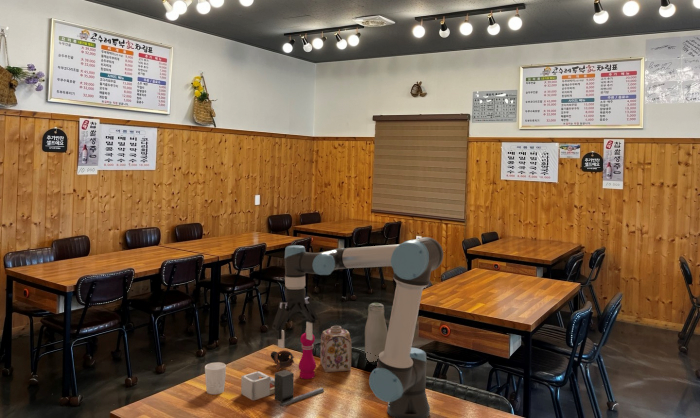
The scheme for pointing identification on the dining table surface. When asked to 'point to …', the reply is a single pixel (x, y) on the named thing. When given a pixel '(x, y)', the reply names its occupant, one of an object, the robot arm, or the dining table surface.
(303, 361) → the pepper mill
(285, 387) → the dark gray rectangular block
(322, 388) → the rail
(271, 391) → the lane boards
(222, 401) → the dining table surface
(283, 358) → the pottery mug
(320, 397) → the dining table surface
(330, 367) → the decorative jar
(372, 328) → the pale grey bottle
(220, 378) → the white cup
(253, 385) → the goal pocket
